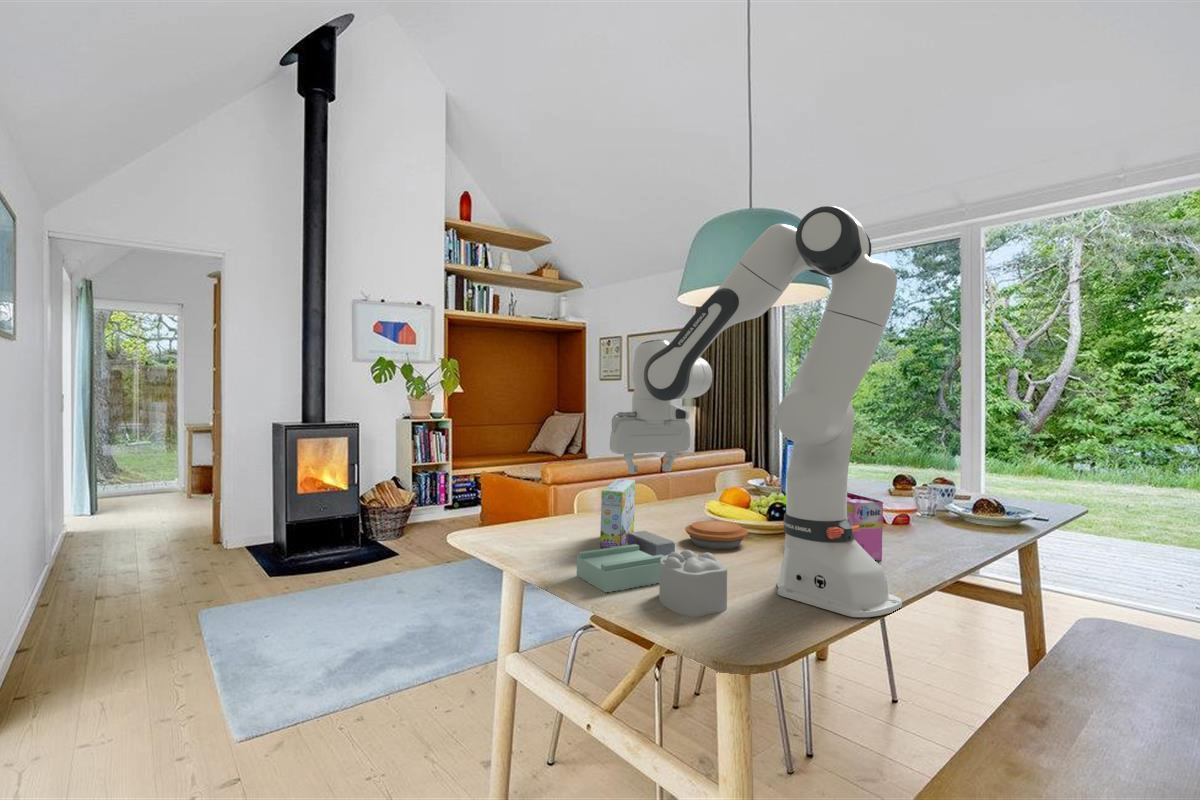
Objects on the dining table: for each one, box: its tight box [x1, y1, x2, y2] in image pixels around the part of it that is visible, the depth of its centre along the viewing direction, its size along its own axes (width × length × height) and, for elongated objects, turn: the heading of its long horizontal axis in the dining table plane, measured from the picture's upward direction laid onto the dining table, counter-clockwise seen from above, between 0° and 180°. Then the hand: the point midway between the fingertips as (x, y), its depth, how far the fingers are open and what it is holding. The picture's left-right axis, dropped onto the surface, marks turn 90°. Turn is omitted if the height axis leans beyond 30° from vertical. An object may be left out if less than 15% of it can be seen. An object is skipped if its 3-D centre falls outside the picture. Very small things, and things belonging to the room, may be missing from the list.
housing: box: [627, 530, 676, 556], centre depth 136 cm, size 12×5×5 cm, turn 29°
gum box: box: [847, 491, 884, 561], centre depth 146 cm, size 24×8×14 cm, turn 13°
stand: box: [576, 544, 664, 594], centre depth 121 cm, size 12×14×5 cm
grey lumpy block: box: [658, 549, 728, 617], centre depth 108 cm, size 10×13×9 cm
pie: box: [684, 520, 749, 550], centre depth 150 cm, size 16×16×5 cm
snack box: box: [599, 478, 636, 549], centre depth 148 cm, size 21×6×15 cm, turn 168°
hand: (650, 472), depth 136 cm, fingers open, 8 cm apart
